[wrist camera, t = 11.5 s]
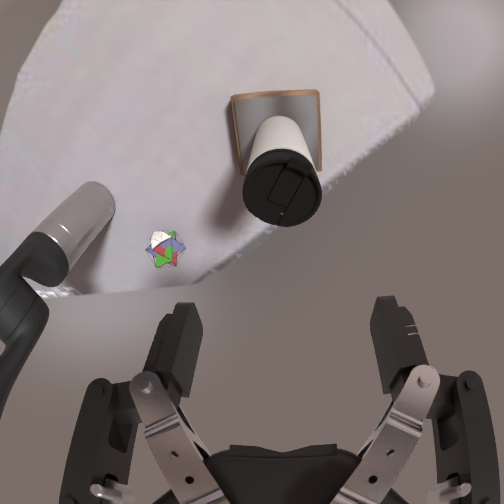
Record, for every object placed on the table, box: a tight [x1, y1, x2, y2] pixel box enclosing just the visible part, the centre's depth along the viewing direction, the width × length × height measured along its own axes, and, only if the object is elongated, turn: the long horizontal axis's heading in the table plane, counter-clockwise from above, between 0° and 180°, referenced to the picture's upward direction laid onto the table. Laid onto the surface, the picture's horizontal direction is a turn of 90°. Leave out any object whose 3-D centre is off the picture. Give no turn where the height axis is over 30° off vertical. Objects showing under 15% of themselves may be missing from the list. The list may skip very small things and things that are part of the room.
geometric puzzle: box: [145, 230, 186, 268], centre depth 52 cm, size 7×7×8 cm
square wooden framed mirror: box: [231, 90, 322, 175], centre depth 39 cm, size 12×12×4 cm
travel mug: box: [243, 115, 322, 227], centre depth 29 cm, size 6×7×20 cm
